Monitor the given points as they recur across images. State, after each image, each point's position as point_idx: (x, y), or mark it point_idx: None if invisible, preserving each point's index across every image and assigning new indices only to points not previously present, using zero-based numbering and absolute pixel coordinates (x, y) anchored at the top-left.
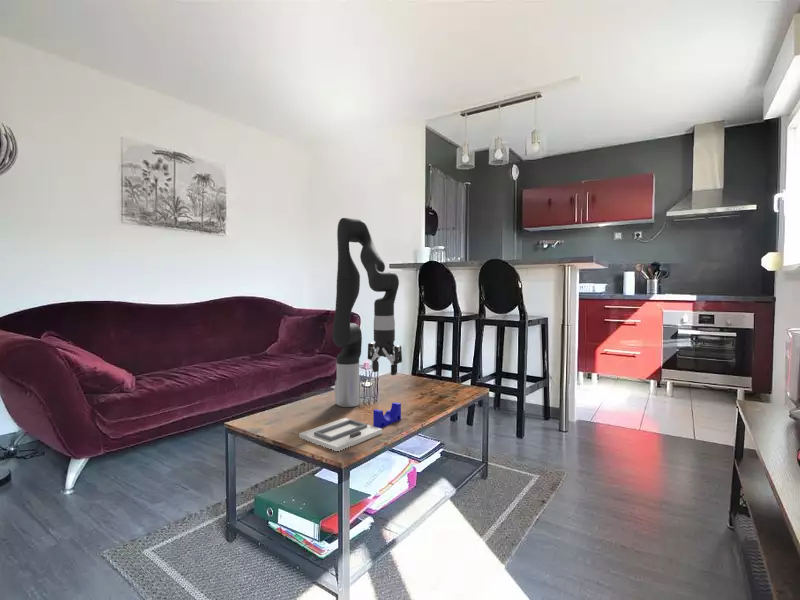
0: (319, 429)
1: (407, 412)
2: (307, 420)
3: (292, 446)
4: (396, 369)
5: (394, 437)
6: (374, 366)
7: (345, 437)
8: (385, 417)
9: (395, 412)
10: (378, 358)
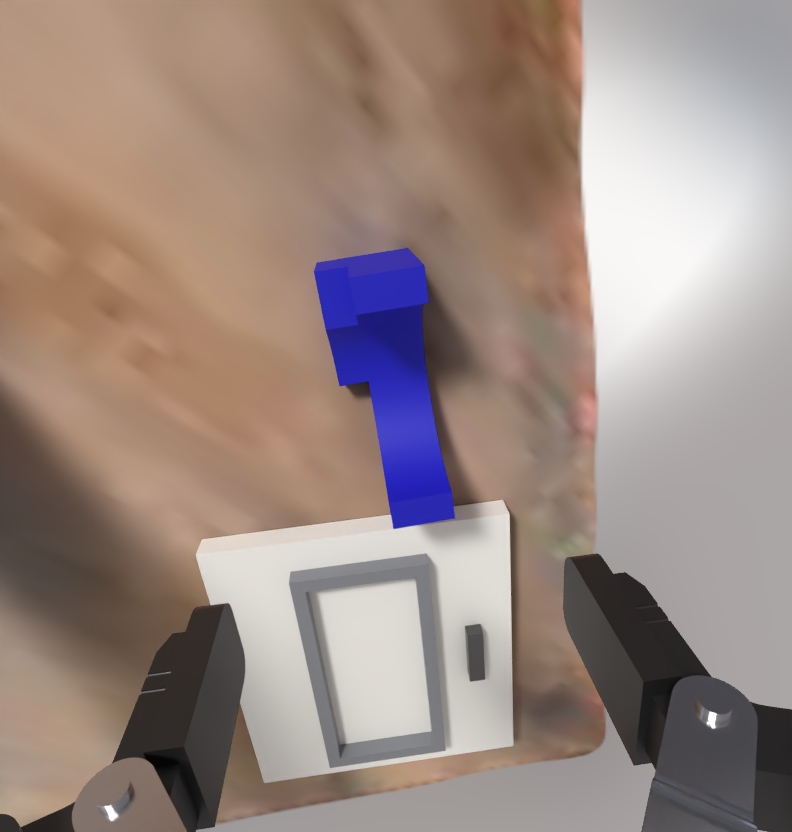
0: (279, 715)
1: (322, 69)
2: (42, 658)
3: (332, 801)
4: (664, 631)
5: (590, 490)
6: (230, 744)
7: (456, 684)
8: (365, 367)
9: (409, 313)
10: (179, 820)
